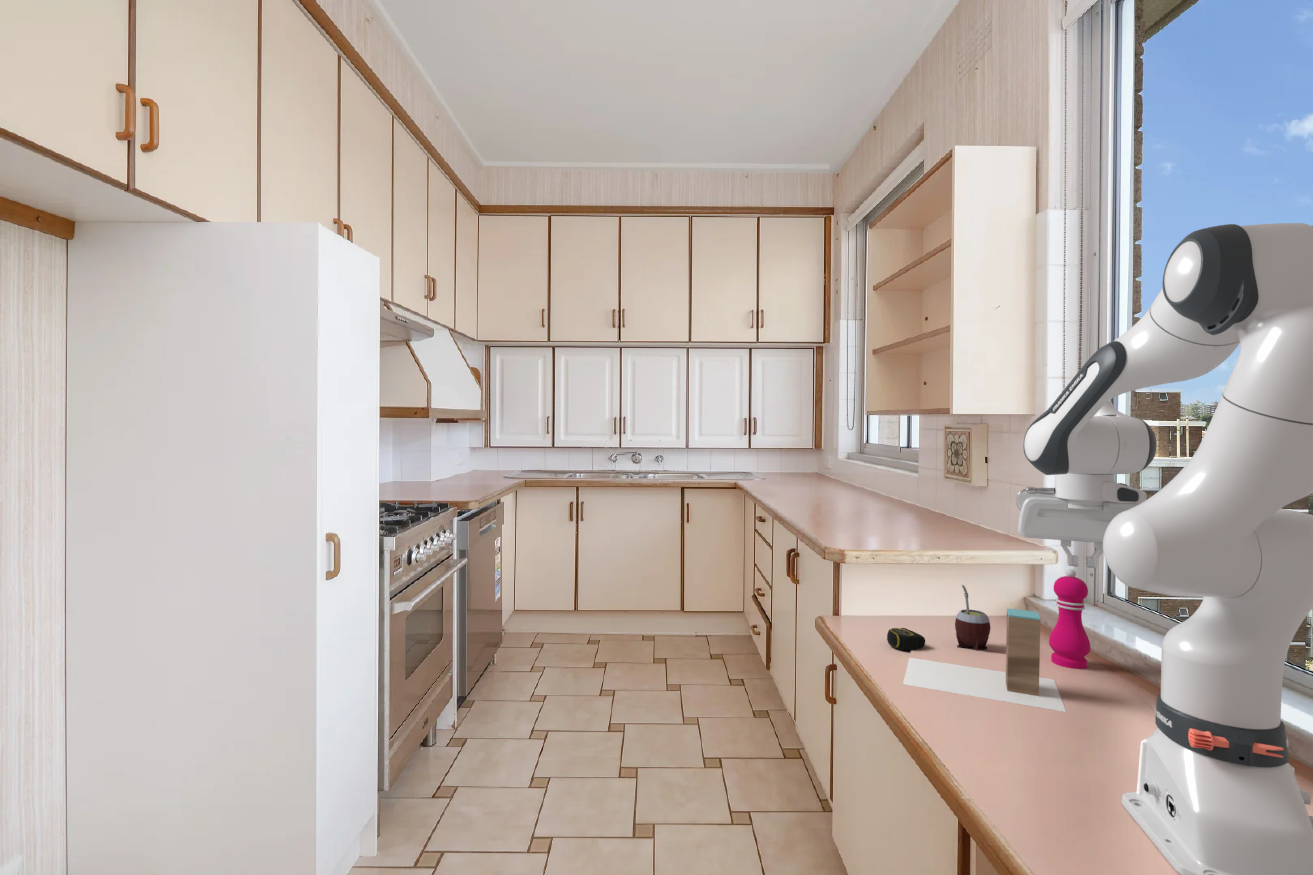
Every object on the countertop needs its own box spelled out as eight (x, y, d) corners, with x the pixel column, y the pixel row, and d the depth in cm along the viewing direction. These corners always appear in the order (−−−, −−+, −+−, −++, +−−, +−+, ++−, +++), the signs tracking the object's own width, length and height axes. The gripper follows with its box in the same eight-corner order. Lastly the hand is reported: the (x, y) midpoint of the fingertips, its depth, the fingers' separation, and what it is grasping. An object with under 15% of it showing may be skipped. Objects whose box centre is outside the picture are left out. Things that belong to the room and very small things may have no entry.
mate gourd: (982, 643, 146) (983, 578, 146) (997, 655, 138) (998, 586, 138) (948, 642, 146) (949, 576, 146) (961, 654, 139) (962, 585, 138)
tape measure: (926, 651, 140) (927, 634, 140) (900, 654, 138) (901, 637, 138) (905, 641, 147) (906, 625, 147) (880, 644, 145) (880, 627, 145)
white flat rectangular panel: (1066, 714, 109) (1066, 711, 109) (902, 686, 120) (903, 684, 120) (1053, 682, 123) (1054, 679, 123) (909, 659, 135) (909, 657, 135)
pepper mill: (1093, 665, 133) (1095, 569, 133) (1086, 674, 127) (1088, 574, 127) (1052, 656, 138) (1054, 563, 138) (1044, 665, 132) (1046, 568, 132)
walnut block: (1038, 696, 115) (1040, 618, 115) (1007, 690, 118) (1008, 614, 118) (1035, 686, 120) (1037, 611, 120) (1005, 681, 122) (1007, 608, 122)
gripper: (1018, 487, 116) (1016, 563, 116) (1158, 493, 107) (1156, 576, 108) (1015, 485, 122) (1014, 557, 122) (1148, 490, 113) (1146, 569, 113)
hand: (1082, 566), depth 115 cm, fingers closed
